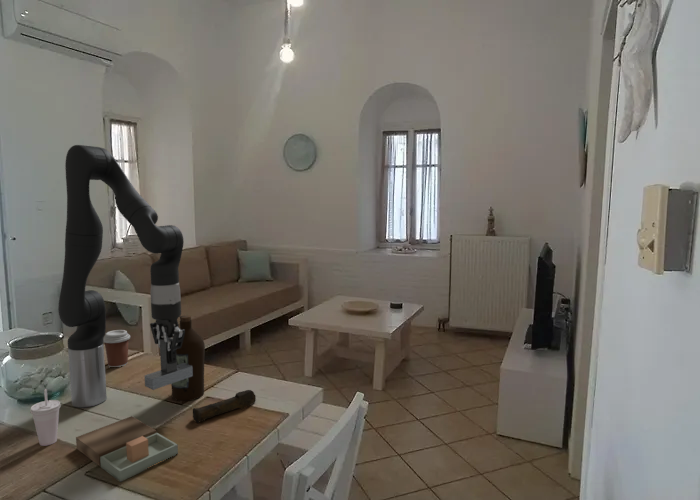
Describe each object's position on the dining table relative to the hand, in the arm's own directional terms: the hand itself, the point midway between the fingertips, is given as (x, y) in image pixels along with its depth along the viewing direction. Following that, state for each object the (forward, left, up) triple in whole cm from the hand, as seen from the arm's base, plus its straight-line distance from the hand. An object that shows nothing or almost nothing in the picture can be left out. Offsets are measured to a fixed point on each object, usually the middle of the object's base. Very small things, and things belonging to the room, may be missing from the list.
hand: (168, 361), depth 130 cm
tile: (+11, -16, -14) cm, 24 cm away
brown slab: (+2, -16, -17) cm, 23 cm away
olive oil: (-10, +12, -17) cm, 23 cm away
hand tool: (+8, +12, -17) cm, 22 cm away
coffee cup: (-52, +11, -17) cm, 56 cm away
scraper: (0, 0, -6) cm, 6 cm away
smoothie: (-13, -26, -17) cm, 34 cm away
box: (+13, -16, -17) cm, 26 cm away
